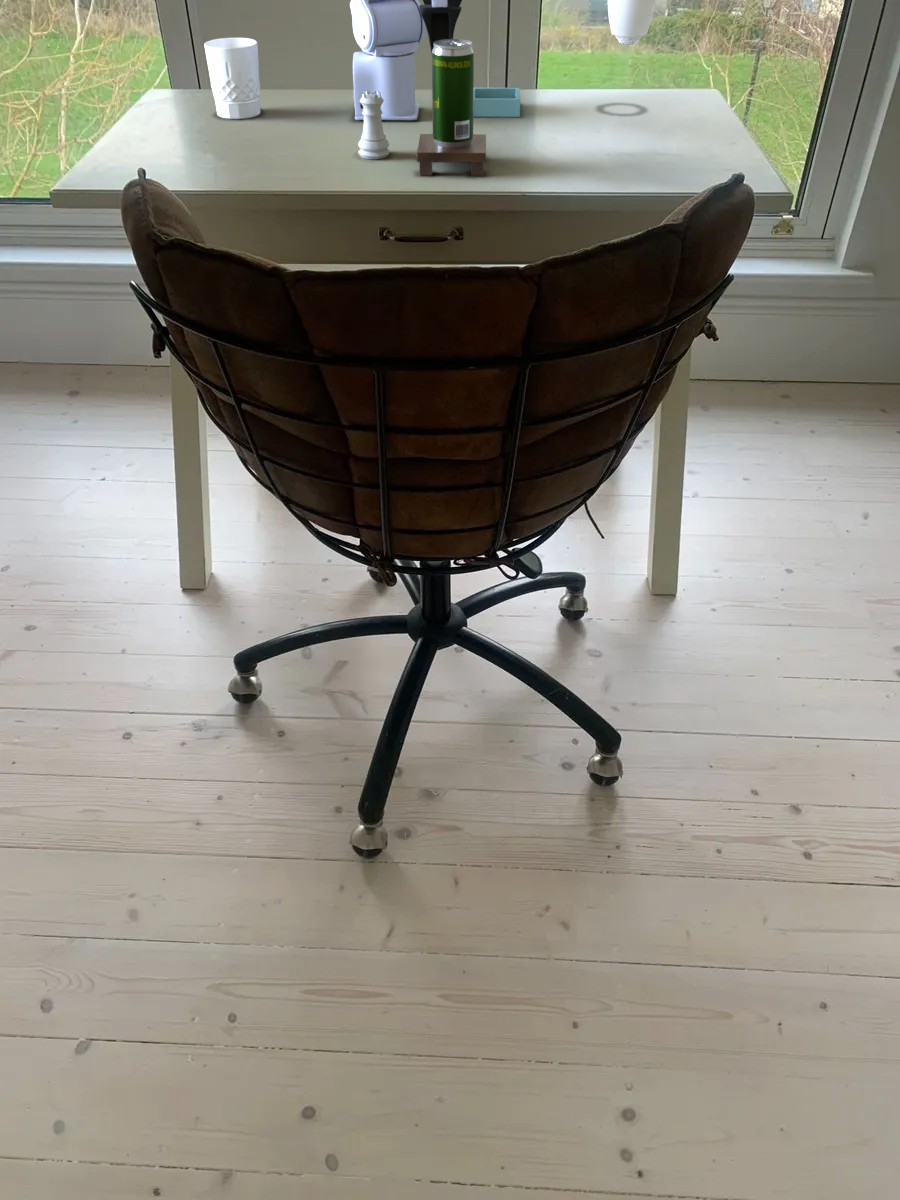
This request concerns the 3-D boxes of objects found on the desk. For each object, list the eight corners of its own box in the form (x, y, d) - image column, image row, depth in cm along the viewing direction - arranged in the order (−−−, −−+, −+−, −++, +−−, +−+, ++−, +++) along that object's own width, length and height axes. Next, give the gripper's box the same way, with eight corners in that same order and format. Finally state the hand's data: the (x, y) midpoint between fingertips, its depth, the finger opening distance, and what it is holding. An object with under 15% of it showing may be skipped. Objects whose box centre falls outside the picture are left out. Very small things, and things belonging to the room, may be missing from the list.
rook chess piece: (394, 158, 145) (392, 95, 140) (363, 161, 144) (359, 98, 139) (384, 149, 149) (382, 88, 144) (354, 152, 147) (350, 90, 143)
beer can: (481, 143, 140) (482, 43, 133) (450, 151, 137) (449, 49, 130) (455, 135, 143) (455, 36, 136) (424, 142, 141) (423, 42, 133)
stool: (417, 176, 139) (416, 152, 137) (420, 156, 146) (420, 133, 144) (485, 176, 139) (485, 152, 137) (485, 157, 146) (486, 134, 144)
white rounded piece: (654, 110, 165) (671, -43, 152) (619, 117, 162) (633, -39, 149) (624, 101, 170) (637, -49, 157) (589, 107, 167) (600, -45, 154)
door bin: (470, 116, 163) (471, 99, 161) (471, 104, 169) (471, 87, 167) (519, 116, 163) (520, 99, 161) (518, 104, 169) (519, 87, 167)
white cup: (274, 111, 166) (267, 40, 159) (244, 122, 160) (236, 50, 154) (233, 105, 168) (225, 35, 162) (203, 116, 163) (193, 45, 157)
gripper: (470, -50, 133) (470, 68, 141) (471, -62, 145) (471, 48, 153) (414, -49, 133) (417, 68, 142) (420, -62, 145) (423, 48, 153)
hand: (442, 58), depth 147 cm, fingers open, 7 cm apart
